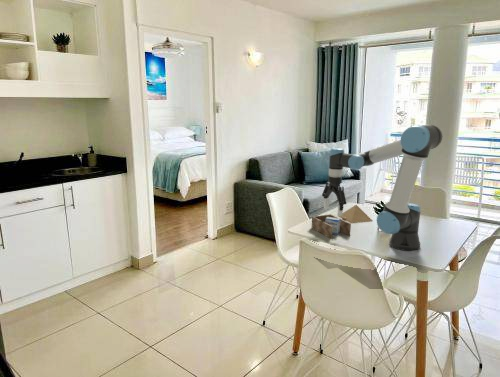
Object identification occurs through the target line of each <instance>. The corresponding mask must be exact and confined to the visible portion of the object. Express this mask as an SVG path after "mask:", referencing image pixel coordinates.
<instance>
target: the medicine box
mask: <svg viewBox="0 0 500 377" xmlns="http://www.w3.org/2000/svg"><path fill="white" fill-rule="evenodd" d="M339 218H340V217H338V218H333V217H327V218H326V219H325V223H327V224H329V225H331V226H332V235H339V234H340V232H341V231H340V220H341V219H342V218H340V219H339Z"/></svg>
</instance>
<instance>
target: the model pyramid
mask: <svg viewBox="0 0 500 377" xmlns="http://www.w3.org/2000/svg"><path fill="white" fill-rule="evenodd" d="M337 217H338V218H340V219H342V220H344V221H346V222H348V223H351V224H359V223H361V224H362V223H369V222H374V221H373V219H371V217H369V216H368V214H366V212H364V210H362V209H361V207H360V206H359V205H357V204H355V205H353V206H352V207H350V208H348V209H347V210H345V211H344V212H343V213H342V216H337Z"/></svg>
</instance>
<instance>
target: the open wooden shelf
mask: <svg viewBox="0 0 500 377" xmlns="http://www.w3.org/2000/svg"><path fill="white" fill-rule="evenodd" d="M327 217H333V218H339V219H341V220H340V232H342V233H343V234H345V235H347V236H351V228H352V223H349V222H347V221H346V220H343V219H342V218H340V217H338V216H335V215H333V214H331V213H329V214H322V215H315V216H311V229H313V230H314V231H316V230H317V232H318V231H319V232H318V233H320V232H321V233H320V234H322V235H324V236H325V235H326V237H327V238H329V239H333V234H332V226H331V225H329V224H327V223H325V219H326V218H327Z"/></svg>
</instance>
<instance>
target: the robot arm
mask: <svg viewBox="0 0 500 377" xmlns="http://www.w3.org/2000/svg"><path fill="white" fill-rule="evenodd" d="M442 132H443V131H442V130H441V129H440V127H438V126H437V125H434V124H424V125H423V124H422V125H421V124H416V125H413V126H409V127H408V128H406V129H405V130H404V131H403V132H402V133H401V135H400V139H399V140H396V141H393V142H390V143H387V144H385V145H381V146H379V147H376V148H372V149H371V150H368V151H365V152H360V153H346V152H345V150H344V148H339V147H332V148H331V149H330V150H329V151H330V152H329V165H328V177H327V178H328V179H327V180H328V181H325V186H324V189H323V191H322V193H321V196H322V197H323V210H328V209H329V207H330V206H329V204H330V203H329V202H330V195H331V194H332V193H333V194H335V196H336V199H337V201H338V205H337V216H336V217H338V216H342V213H344V212H343V211H344V205H347V200H346V194H345V191H344V190H345V188H344V186H341V184H342V183H343V168H348V169H352V170H361V169H362V168H363V167H368V166H369V167H371V166H372V165H374V164H377V163H381V162H383V161H387V160H390V159H392V158H397V157H400V156H402V155H403V156H402V160H401V162H400V167H399V169H398V173H397V176H396V180H395V183H394V186H393V189H392V191H391V192H392V193H391V196H390V199H389V201H387V202H385V204H384V206H383V210H382V211H381V212H379V214H377V217H376V225H377V226H378V228H379V230H380V231H381V232H383V233H385V234H387V235H391V237H390V239H389V242H388V244H389V246H390V247H391V248H393V249H397V250H400V251H405V252H407V251H408V252H414V251H415V252H416V251H419V250H420V249H421V241H420V235H419V229H420V228H419V226H420V219H421V212H422V211H421V206H420V205H418V204H416V203H410V200H411V197H412V195H413V191H414V188H415V186H416V181H417V179H418V176H419V173H420V171H421V168H422V164H423V161H424V160H427V158H428V157H429V154H430V151H431V150H434V149H436V148H438V147H439V146H440V144H441V143H442V142H443V133H442Z"/></svg>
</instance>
